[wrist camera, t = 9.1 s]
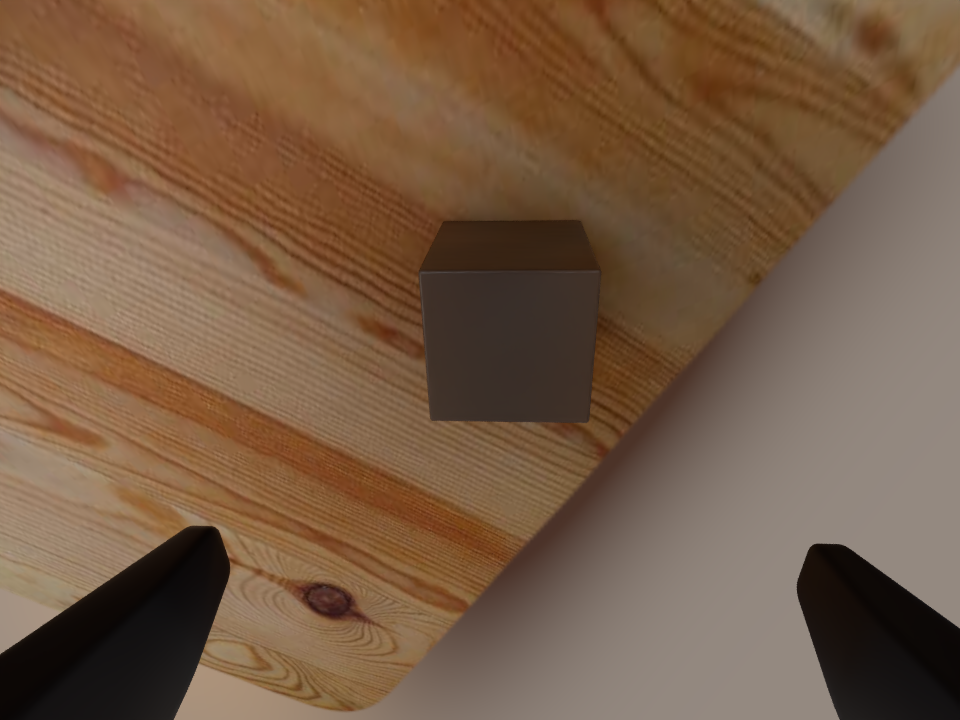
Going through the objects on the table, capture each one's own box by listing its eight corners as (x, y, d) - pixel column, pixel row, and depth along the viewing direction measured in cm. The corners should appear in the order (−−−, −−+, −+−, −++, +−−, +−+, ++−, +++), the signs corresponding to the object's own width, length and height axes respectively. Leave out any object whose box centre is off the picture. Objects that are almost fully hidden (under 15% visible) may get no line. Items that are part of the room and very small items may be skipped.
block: (581, 219, 18) (602, 269, 13) (573, 344, 20) (589, 423, 15) (442, 221, 18) (417, 270, 13) (449, 344, 20) (429, 421, 16)
